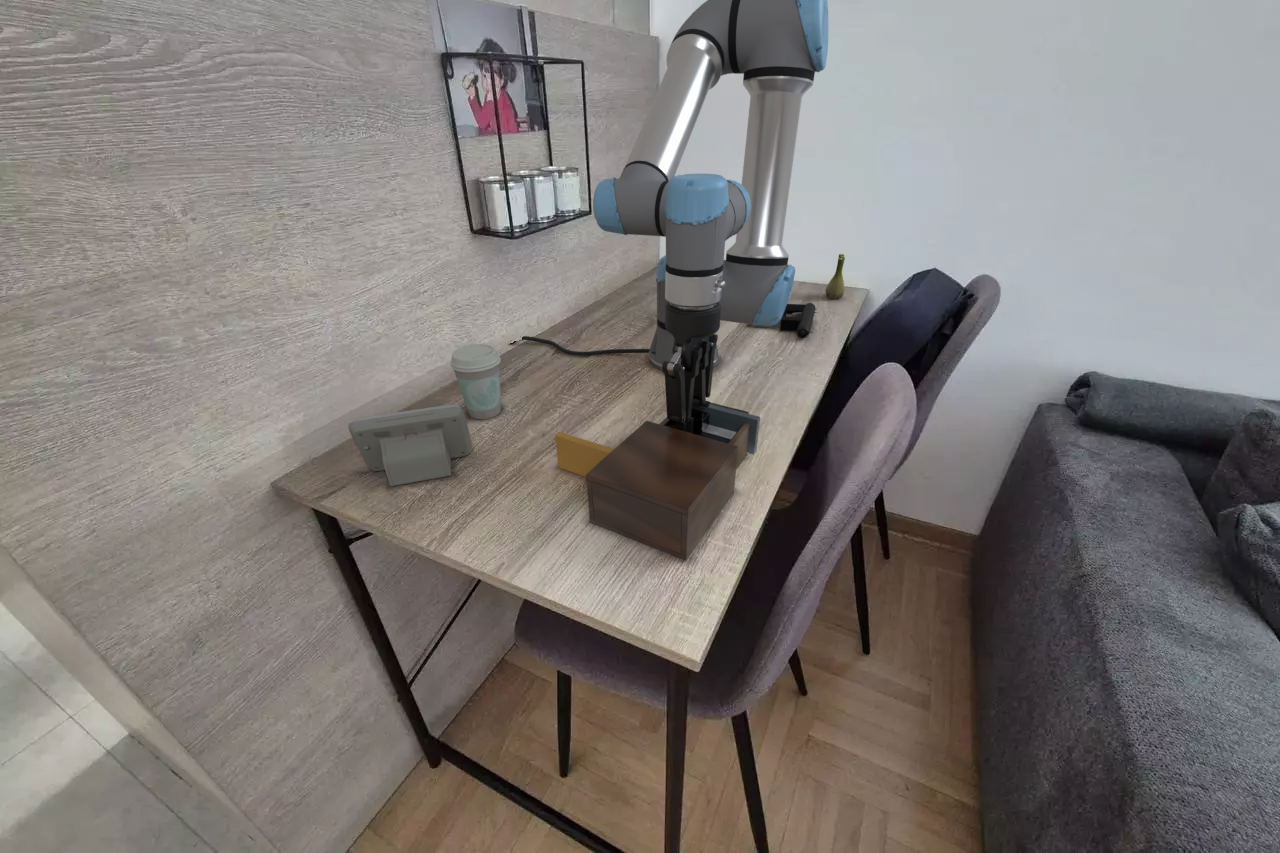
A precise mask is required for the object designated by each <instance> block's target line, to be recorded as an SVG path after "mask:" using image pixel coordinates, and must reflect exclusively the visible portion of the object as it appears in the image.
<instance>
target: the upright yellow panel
mask: <svg viewBox="0 0 1280 853" xmlns="http://www.w3.org/2000/svg"><path fill="white" fill-rule="evenodd" d="M554 439H555V448H556V456H557V465H558V468H560V469H562V470H565V471H568V472H570V473H573V474H576V475H579V476H582V477H584V478H586V474H587V473H588V472H589V471H590V470H591V469H592V468H594V467H595V466H596V465H597V464H598V463H599V462H600V461H601V460H603V459H604V458H605V457H606V456H607V455H608V454H609V453H610V452H612V451H613V450H614V449H615V448H612V447H609V446H606V445H604V444H600V443H597V442H595V441H594V442H593V441H590V440H587V439H584V438H580V437H578V436H575V435H571V434H568V433H565V432H563V431H559V432H557V433H556V434H555V435H554Z"/></svg>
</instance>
